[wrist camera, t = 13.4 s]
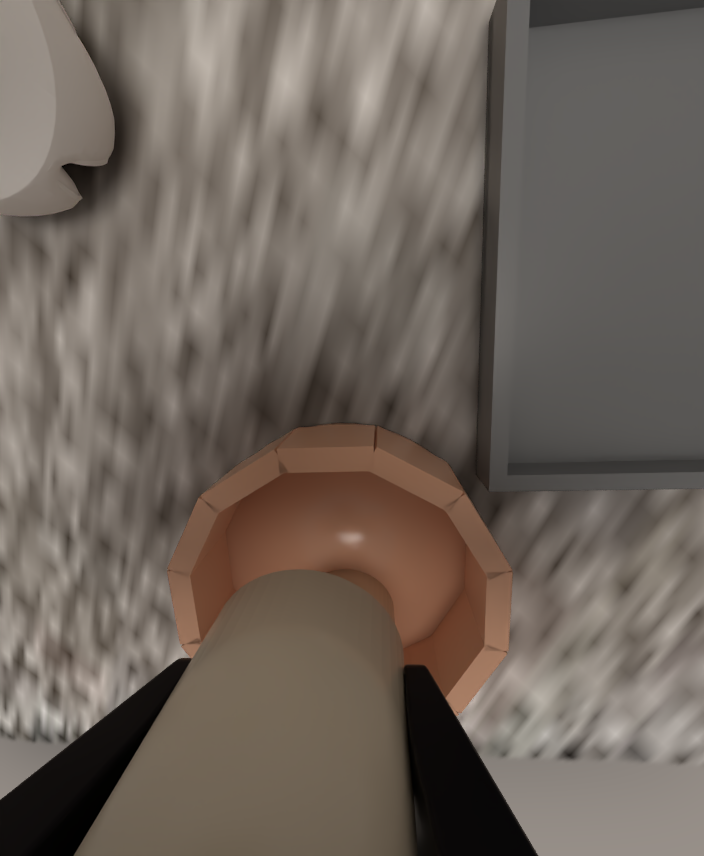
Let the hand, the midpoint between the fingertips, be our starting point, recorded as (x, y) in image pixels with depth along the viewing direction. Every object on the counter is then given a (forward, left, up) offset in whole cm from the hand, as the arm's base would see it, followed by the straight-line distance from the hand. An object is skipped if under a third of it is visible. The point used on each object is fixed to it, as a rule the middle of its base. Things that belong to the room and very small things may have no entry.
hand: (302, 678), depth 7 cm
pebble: (0, 0, 0) cm, 1 cm away
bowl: (0, +3, -8) cm, 9 cm away
